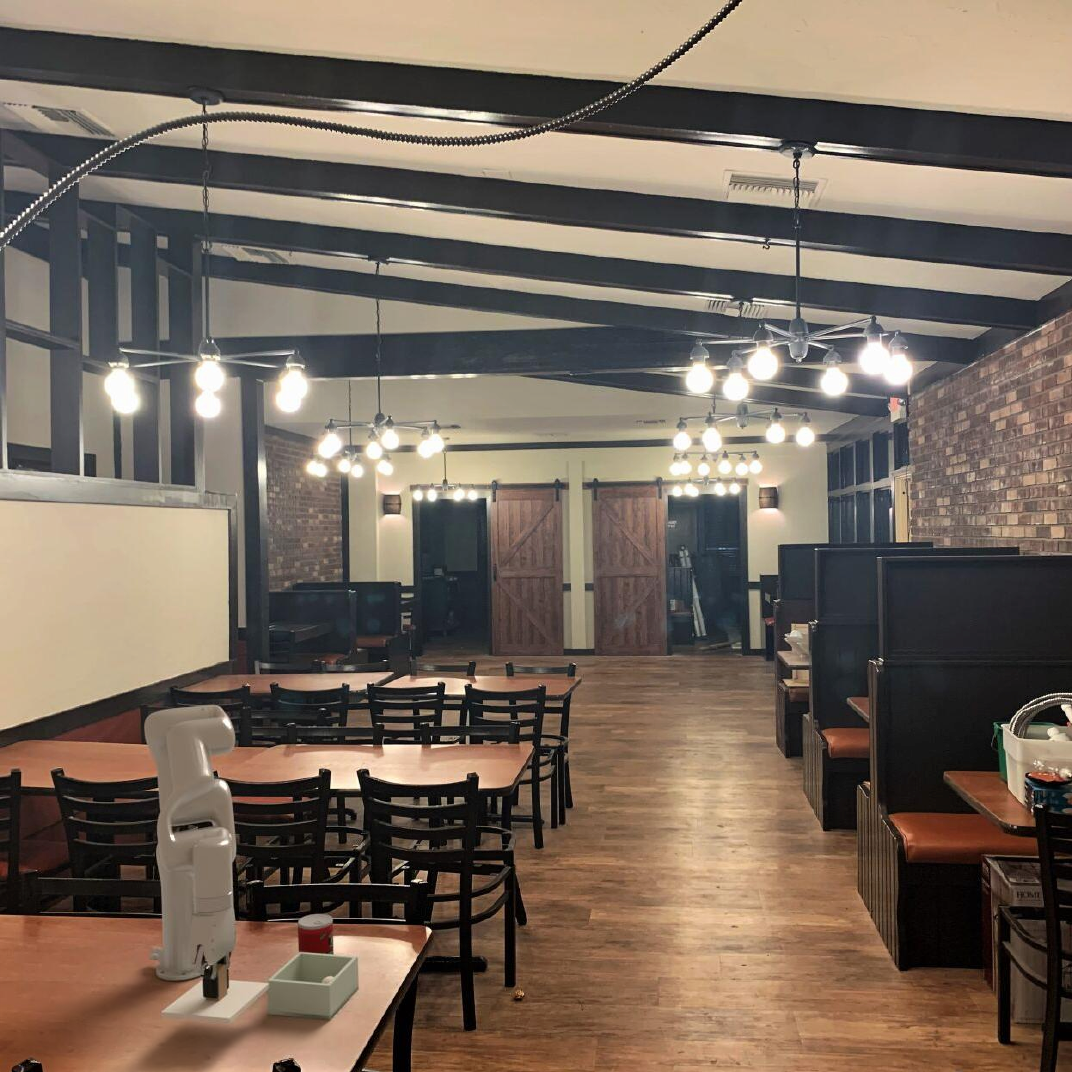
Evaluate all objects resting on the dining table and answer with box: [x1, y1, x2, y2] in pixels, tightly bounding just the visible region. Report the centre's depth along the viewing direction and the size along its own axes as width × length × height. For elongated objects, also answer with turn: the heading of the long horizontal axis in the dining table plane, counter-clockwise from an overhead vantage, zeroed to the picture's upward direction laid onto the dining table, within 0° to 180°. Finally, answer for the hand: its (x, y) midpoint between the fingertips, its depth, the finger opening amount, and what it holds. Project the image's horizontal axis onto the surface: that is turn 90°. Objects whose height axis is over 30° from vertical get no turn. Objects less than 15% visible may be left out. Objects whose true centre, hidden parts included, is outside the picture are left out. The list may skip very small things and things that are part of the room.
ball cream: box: [322, 976, 334, 984], centre depth 206 cm, size 4×4×4 cm
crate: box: [267, 951, 360, 1021], centre depth 204 cm, size 14×14×7 cm
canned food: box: [297, 913, 335, 955], centre depth 221 cm, size 8×8×11 cm
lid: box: [160, 964, 269, 1024], centre depth 193 cm, size 15×15×7 cm
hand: (216, 992), depth 193 cm, fingers closed on lid, 3 cm apart
